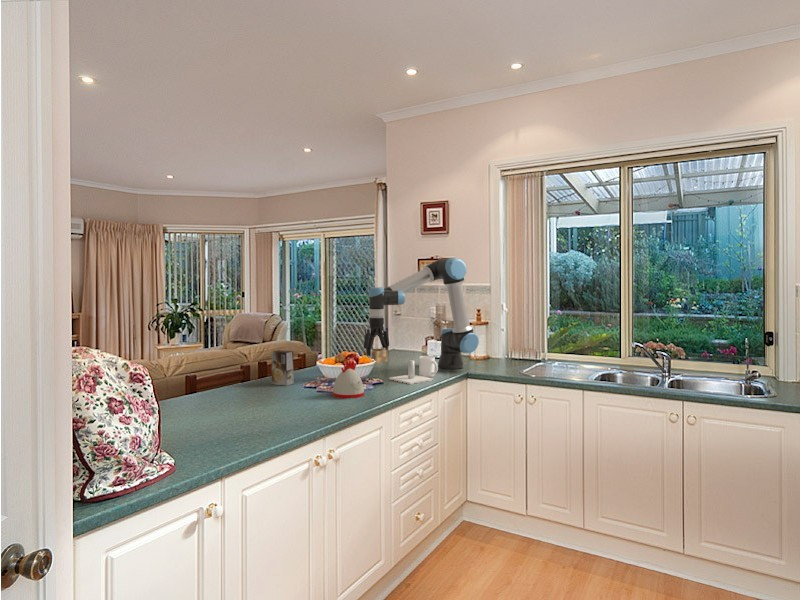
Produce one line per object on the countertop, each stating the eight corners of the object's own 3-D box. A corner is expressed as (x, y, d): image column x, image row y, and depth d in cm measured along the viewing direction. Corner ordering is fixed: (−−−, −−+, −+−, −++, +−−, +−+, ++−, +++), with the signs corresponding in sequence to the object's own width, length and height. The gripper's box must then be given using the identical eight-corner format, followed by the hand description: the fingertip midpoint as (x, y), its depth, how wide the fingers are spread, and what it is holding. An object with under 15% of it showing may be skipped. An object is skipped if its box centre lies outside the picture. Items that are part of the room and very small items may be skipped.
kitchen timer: (370, 395, 233) (370, 361, 232) (347, 400, 222) (347, 365, 222) (349, 390, 242) (349, 358, 241) (326, 394, 232) (326, 361, 231)
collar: (377, 359, 275) (377, 348, 275) (387, 361, 269) (387, 350, 269) (365, 361, 270) (365, 349, 270) (375, 363, 264) (375, 351, 264)
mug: (442, 377, 276) (443, 358, 275) (431, 379, 270) (431, 359, 270) (426, 374, 285) (427, 355, 284) (415, 375, 279) (416, 356, 279)
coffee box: (294, 383, 255) (294, 351, 254) (286, 386, 249) (286, 352, 248) (278, 381, 259) (278, 349, 258) (270, 384, 253) (270, 351, 252)
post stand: (411, 375, 279) (412, 357, 278) (433, 380, 267) (433, 361, 266) (389, 379, 268) (389, 360, 268) (410, 384, 256) (410, 364, 256)
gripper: (387, 315, 278) (387, 357, 279) (356, 317, 264) (356, 362, 265) (396, 316, 273) (396, 359, 274) (365, 318, 259) (365, 364, 260)
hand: (376, 360), depth 270 cm, fingers closed on collar, 8 cm apart
